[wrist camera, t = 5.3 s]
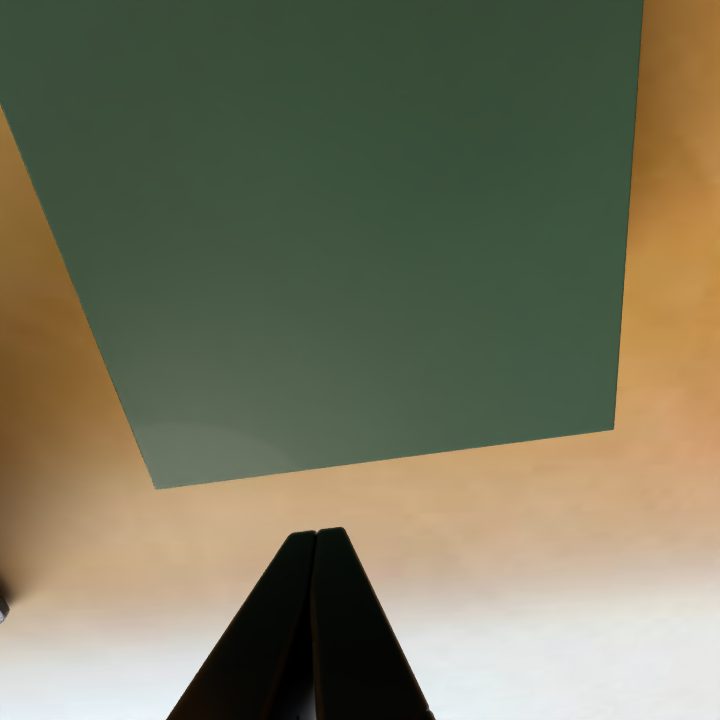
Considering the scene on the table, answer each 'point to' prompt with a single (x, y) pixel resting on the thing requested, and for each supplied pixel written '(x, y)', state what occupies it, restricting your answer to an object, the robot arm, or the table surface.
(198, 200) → the lid
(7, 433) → the table surface
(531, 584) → the table surface
